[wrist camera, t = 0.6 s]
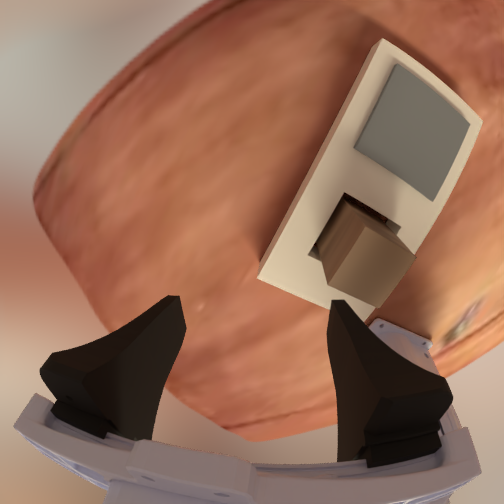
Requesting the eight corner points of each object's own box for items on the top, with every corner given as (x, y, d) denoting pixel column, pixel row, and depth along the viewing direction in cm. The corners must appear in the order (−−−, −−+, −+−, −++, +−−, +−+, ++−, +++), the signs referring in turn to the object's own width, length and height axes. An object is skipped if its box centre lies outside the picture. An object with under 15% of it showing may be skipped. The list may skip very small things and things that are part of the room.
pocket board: (466, 119, 15) (483, 121, 13) (356, 306, 24) (362, 323, 22) (371, 46, 14) (382, 37, 12) (259, 263, 23) (257, 278, 21)
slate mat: (465, 123, 14) (470, 124, 13) (429, 199, 17) (432, 202, 16) (394, 64, 13) (397, 63, 12) (353, 147, 16) (355, 148, 15)
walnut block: (380, 218, 20) (416, 257, 14) (355, 258, 22) (378, 308, 16) (339, 194, 20) (365, 226, 14) (315, 238, 22) (327, 285, 15)
